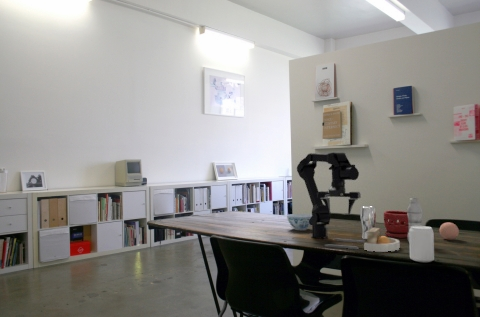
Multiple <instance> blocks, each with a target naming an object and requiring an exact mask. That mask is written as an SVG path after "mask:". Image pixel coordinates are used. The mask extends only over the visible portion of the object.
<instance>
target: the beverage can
mask: <svg viewBox="0 0 480 317" xmlns="http://www.w3.org/2000/svg"><path fill="white" fill-rule="evenodd" d="M434 236H435V234H434V230H433V228H432V227H431V226H424V225H421V226H411V228H410V230H409V241H408V243H409V258H410V260H412V261H415V262H419V263H431V262H433V261H434V260H435V238H434Z"/></svg>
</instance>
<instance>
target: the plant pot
mask: <svg viewBox="0 0 480 317" xmlns="http://www.w3.org/2000/svg"><path fill="white" fill-rule="evenodd" d="M408 223H409V222H408V215H407V211H404V210H386V211H383V224H384V227H385V229H386V230H385V231H384V233H385V235H386V237H388V238H394V239H406V238H407V235H408V226H409V224H408Z"/></svg>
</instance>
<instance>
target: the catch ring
mask: <svg viewBox="0 0 480 317" xmlns="http://www.w3.org/2000/svg"><path fill="white" fill-rule="evenodd" d="M386 237H387V238H388V239H389V240H390V243H389V244H373V243H367V242H366V243H363V248H364V249H363V250H367V252H373V251H375V252H376V253H383V252H384V253H386V252H388V251H391V252H395V250H397V251H399V250H400V249H401V247H400V246H401V245H400V244H401V242H400V240H399V239H398V238H394V237H389V236H386ZM399 248H400V249H399ZM388 253H389V252H388Z"/></svg>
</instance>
